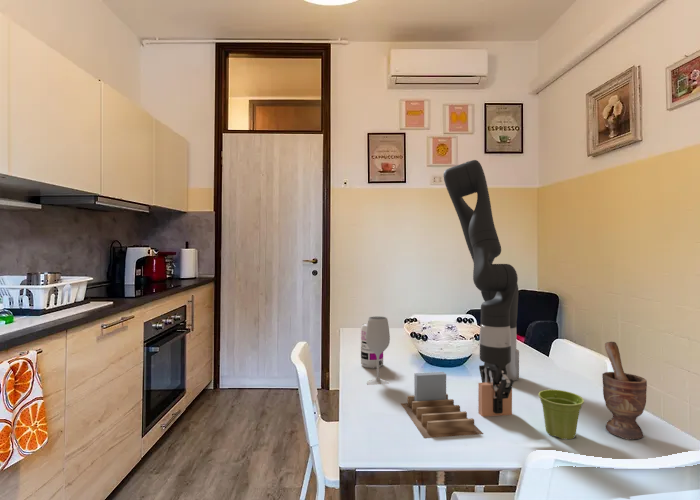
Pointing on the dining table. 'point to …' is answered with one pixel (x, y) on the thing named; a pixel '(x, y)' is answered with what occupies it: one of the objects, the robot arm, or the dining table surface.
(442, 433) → the dish rack
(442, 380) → the grey-blue thick slab
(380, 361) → the supplement can
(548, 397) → the plant pot
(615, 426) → the mortar and pestle
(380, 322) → the wineglass
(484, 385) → the salmon pink rectangular prism
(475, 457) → the dining table surface
